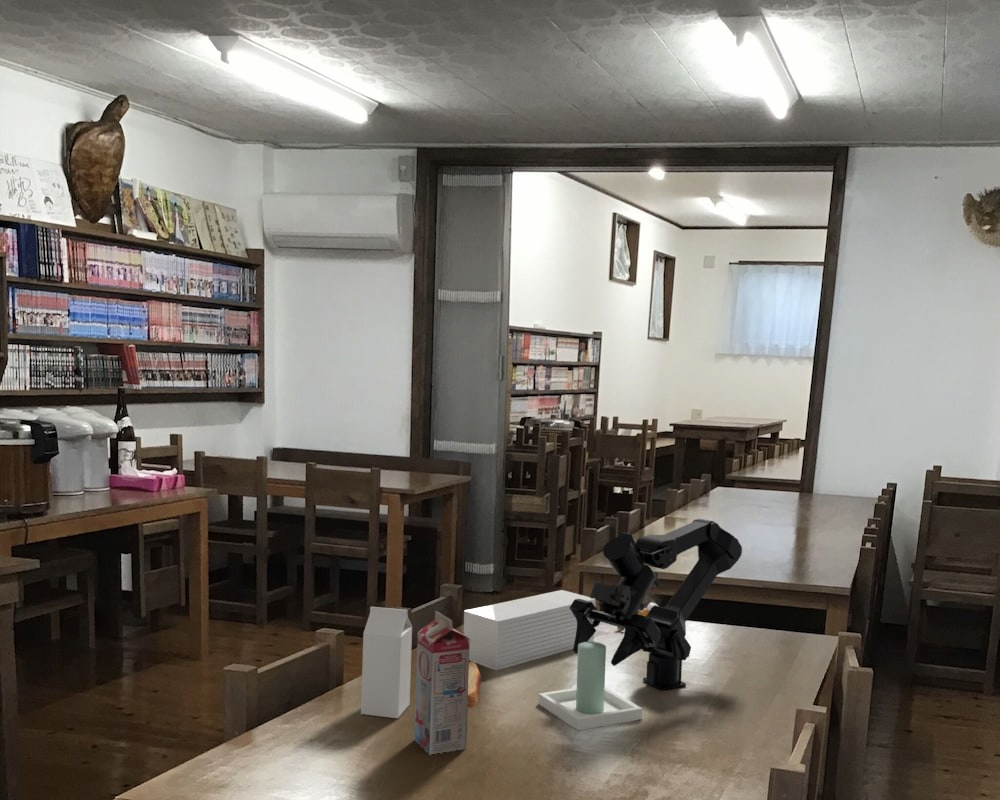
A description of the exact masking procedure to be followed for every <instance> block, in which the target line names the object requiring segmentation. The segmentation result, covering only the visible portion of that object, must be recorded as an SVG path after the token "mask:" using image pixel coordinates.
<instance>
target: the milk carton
mask: <svg viewBox="0 0 1000 800" xmlns="http://www.w3.org/2000/svg"><path fill="white" fill-rule="evenodd" d="M369 610H370V611H369V615H368V618H367V622H366V624H365V628H364V630H363V637H362V639H363V640H362V643H363V644H362V665H361V666H362V670H361V671H362V672H361V674H362V675H361V676H362V677H361V698H360V699H361V705H360V715H364V714H365V715H364V716H374V717H380V718H381V717H383V718H389V719H390V718H391V719H399V718H400V716H401V715H402V714H403V713H404V711H405V710H406V709H407V708H408V707H409V705H410V700H411V698H410V697H411V676H412V675H411V671H412V670H411V669H412V668H411V666H412V665H411V664H412V643H413V642H412V639H413V636H412V635H413V625H412V623H411V621H410V619H409V616H408V609H402V608H401V609H399V608H389V607H380V606H379V607H378V606H377V607H376V606H370V609H369Z"/></svg>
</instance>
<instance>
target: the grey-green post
mask: <svg viewBox="0 0 1000 800" xmlns="http://www.w3.org/2000/svg"><path fill="white" fill-rule="evenodd" d="M606 655H607V646H606V645H605V644H603V643H600V642H595V641H594V642H583V643H580V644H578V653H577V664H576V665H577V666H576V667H577V668H576V669H577V671H576V673H577V674H576V688H577V691H576V710H577V711H579V712H581V713H584V714H599V713H602V712H603V711H604V687H606V686H605V682H606V660H607V659H606Z"/></svg>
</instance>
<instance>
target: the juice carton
mask: <svg viewBox="0 0 1000 800" xmlns="http://www.w3.org/2000/svg"><path fill="white" fill-rule="evenodd" d="M416 639H417V642H416V643H417V645H416V668H415V669H416V670H415V671H416V674H415V677H416V678H415V702H414V703H415V704H414V708H415V709H414V732H413V733H414V738H413V740H415V741H414V742H416V744H417V745H419V744H420V745H421V746H420V745H419V746H420V747H421V748H422V747H423V748H424V749H425V750H426V751H427V752H428V753H427V752H426V751H425V750H424V749H423V748H422V749H423V750H424V751H425V752H426V753H427V755H429V754H435V755H437V754H436V753H440V754H444V753H443V752H446V753H450V751H451V752H457V751H461V750H466V749H467V735H468V734H467V733H468V732H467V731H468V730H467V729H468V708H467V705H468V675H469V662H470V661H469V646H470V639H469V638H468V637H466V636H465V635H463V633H462V632H460V631H458V630H457V629H455V628H454V627H453V619H450V618H449V617H448V616H445V615H444V614H442V613H440V612H439V611H437V610H435V612H434V620H433V621H432V622H430V623H429V624H427V625H426V626H424V627H422V628H421V629H420V630H419V631H417V638H416ZM456 750H457V751H456Z"/></svg>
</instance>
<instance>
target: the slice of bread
mask: <svg viewBox="0 0 1000 800" xmlns="http://www.w3.org/2000/svg"><path fill="white" fill-rule="evenodd" d="M481 680H482V676H481V673H480V670H479V668H478V664H477V663H475V662H474V661H473V662H472V661H469V675H468V705H467V707H468V708H472V707H475V706H477V703H478V702H479V700H480V691H481V685H482V681H481Z"/></svg>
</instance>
